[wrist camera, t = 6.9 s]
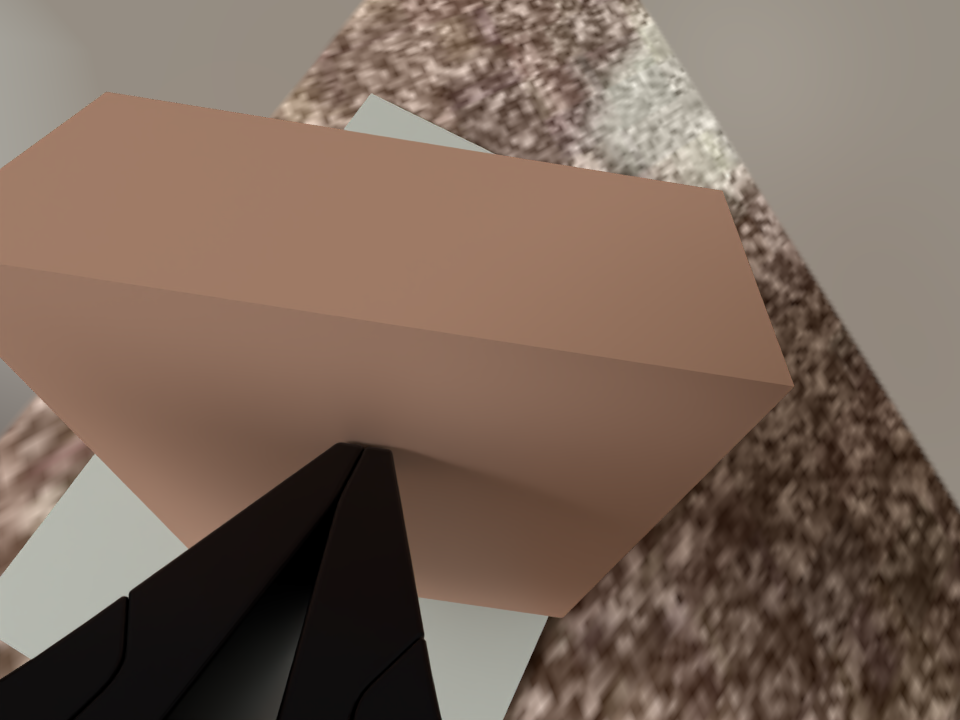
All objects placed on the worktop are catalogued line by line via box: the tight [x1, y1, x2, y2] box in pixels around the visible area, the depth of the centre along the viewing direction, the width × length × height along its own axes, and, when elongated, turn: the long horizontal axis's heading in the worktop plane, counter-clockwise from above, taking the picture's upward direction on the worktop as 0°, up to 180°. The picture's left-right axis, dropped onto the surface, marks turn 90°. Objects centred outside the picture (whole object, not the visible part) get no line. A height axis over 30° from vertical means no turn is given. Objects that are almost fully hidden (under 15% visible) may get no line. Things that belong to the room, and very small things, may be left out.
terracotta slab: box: [0, 92, 795, 618], centre depth 11 cm, size 4×10×11 cm, turn 82°
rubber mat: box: [0, 94, 548, 720], centre depth 17 cm, size 15×22×1 cm
